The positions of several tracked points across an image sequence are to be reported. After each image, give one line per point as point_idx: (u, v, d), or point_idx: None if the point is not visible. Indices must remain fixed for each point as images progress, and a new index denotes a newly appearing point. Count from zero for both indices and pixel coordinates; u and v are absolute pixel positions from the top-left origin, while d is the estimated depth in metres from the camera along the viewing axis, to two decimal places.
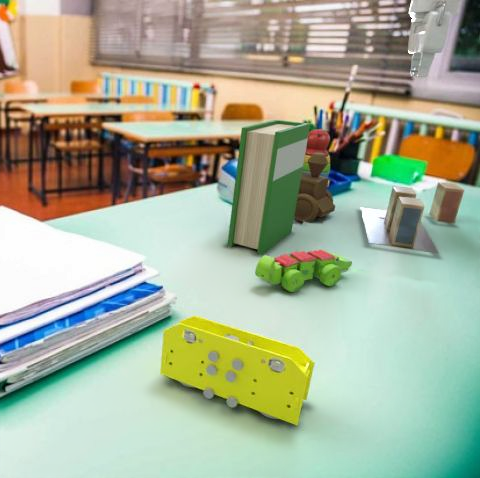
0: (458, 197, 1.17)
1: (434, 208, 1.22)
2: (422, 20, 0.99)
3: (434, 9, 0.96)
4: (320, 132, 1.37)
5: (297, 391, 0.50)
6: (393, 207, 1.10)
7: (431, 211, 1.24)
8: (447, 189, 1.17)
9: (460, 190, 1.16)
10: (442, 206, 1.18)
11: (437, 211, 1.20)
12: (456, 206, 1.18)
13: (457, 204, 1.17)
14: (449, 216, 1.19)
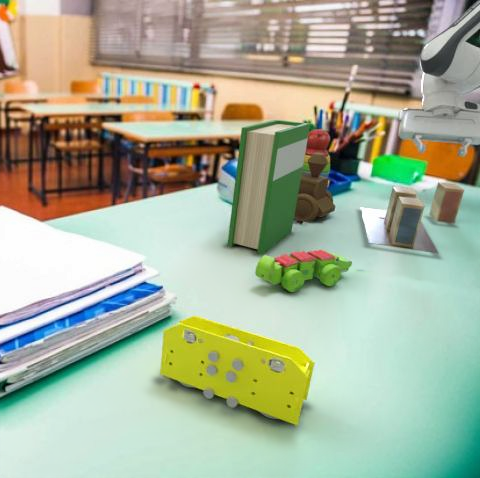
0: (458, 197, 1.17)
1: (434, 208, 1.22)
2: None
3: None
4: (320, 132, 1.37)
5: (298, 391, 0.50)
6: (393, 207, 1.10)
7: (431, 211, 1.24)
8: (447, 189, 1.17)
9: (460, 190, 1.16)
10: (442, 206, 1.18)
11: (437, 211, 1.20)
12: (456, 206, 1.18)
13: (457, 204, 1.17)
14: (449, 216, 1.19)
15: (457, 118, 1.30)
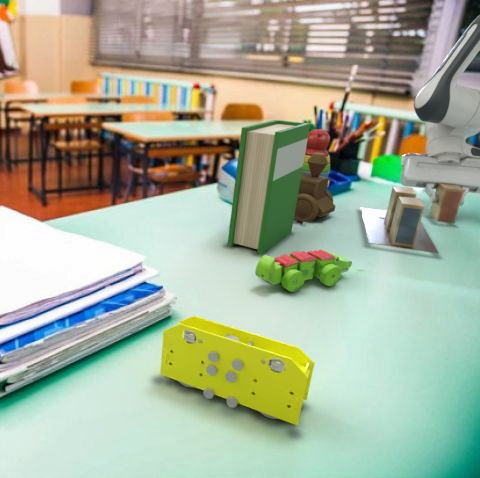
0: (458, 197, 1.17)
1: (434, 208, 1.22)
2: None
3: None
4: (320, 132, 1.37)
5: (298, 391, 0.50)
6: (393, 207, 1.10)
7: (431, 211, 1.24)
8: (447, 189, 1.17)
9: (460, 190, 1.16)
10: (442, 206, 1.18)
11: (437, 211, 1.20)
12: (456, 206, 1.18)
13: (457, 204, 1.17)
14: (449, 216, 1.19)
15: (463, 165, 1.22)
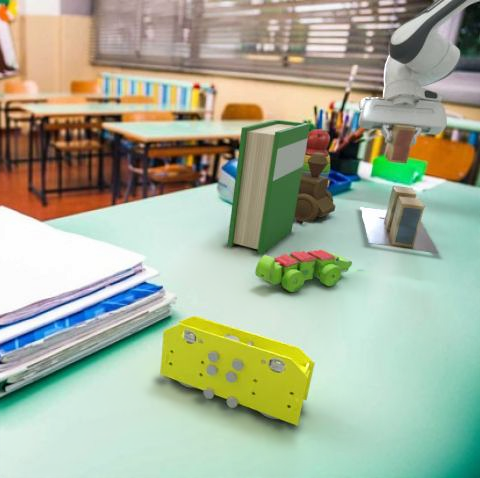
0: (410, 135, 1.22)
1: (389, 148, 1.28)
2: None
3: None
4: (320, 132, 1.37)
5: (298, 391, 0.50)
6: (393, 207, 1.10)
7: (387, 152, 1.30)
8: (400, 128, 1.23)
9: (412, 128, 1.22)
10: (395, 145, 1.24)
11: (391, 150, 1.26)
12: (408, 144, 1.23)
13: (409, 142, 1.23)
14: (402, 154, 1.25)
15: (417, 107, 1.27)
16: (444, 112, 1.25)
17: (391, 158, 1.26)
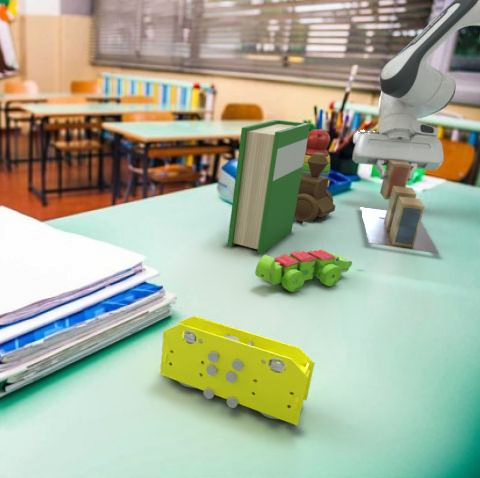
0: (405, 172, 1.18)
1: (384, 184, 1.24)
2: None
3: None
4: (320, 132, 1.37)
5: (298, 391, 0.50)
6: (393, 207, 1.10)
7: (382, 187, 1.26)
8: (395, 164, 1.19)
9: (407, 165, 1.18)
10: (390, 181, 1.20)
11: (386, 187, 1.21)
12: (404, 181, 1.19)
13: (405, 179, 1.19)
14: None
15: (413, 142, 1.23)
16: (441, 147, 1.21)
17: (386, 195, 1.21)
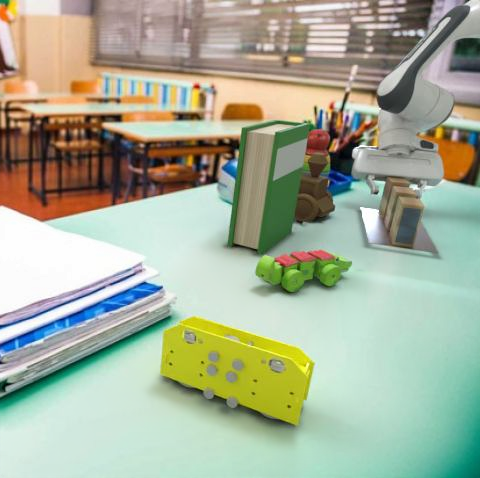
0: None
1: (383, 202, 1.23)
2: None
3: None
4: (320, 132, 1.37)
5: (298, 391, 0.50)
6: (393, 207, 1.10)
7: (380, 205, 1.24)
8: (393, 183, 1.17)
9: (406, 183, 1.16)
10: None
11: (385, 205, 1.20)
12: None
13: None
14: None
15: (412, 158, 1.22)
16: (441, 163, 1.19)
17: (385, 213, 1.20)
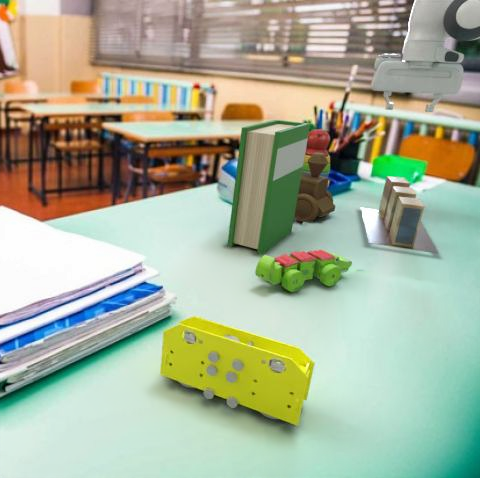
0: None
1: (383, 202, 1.23)
2: None
3: None
4: (320, 132, 1.37)
5: (298, 391, 0.50)
6: (393, 207, 1.10)
7: (380, 205, 1.24)
8: (393, 183, 1.17)
9: (406, 183, 1.16)
10: None
11: (385, 205, 1.20)
12: None
13: None
14: None
15: (434, 70, 1.22)
16: (461, 77, 1.21)
17: (385, 213, 1.20)
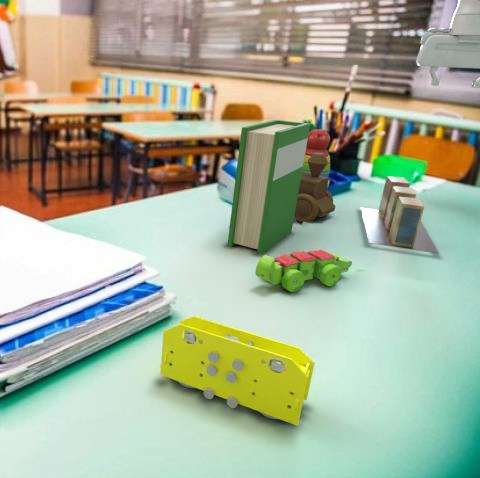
0: None
1: (383, 202, 1.23)
2: None
3: None
4: (320, 132, 1.37)
5: (298, 391, 0.50)
6: (393, 207, 1.10)
7: (380, 205, 1.24)
8: (393, 183, 1.17)
9: (406, 183, 1.16)
10: None
11: (385, 205, 1.20)
12: None
13: None
14: None
15: None
16: None
17: (385, 213, 1.20)
